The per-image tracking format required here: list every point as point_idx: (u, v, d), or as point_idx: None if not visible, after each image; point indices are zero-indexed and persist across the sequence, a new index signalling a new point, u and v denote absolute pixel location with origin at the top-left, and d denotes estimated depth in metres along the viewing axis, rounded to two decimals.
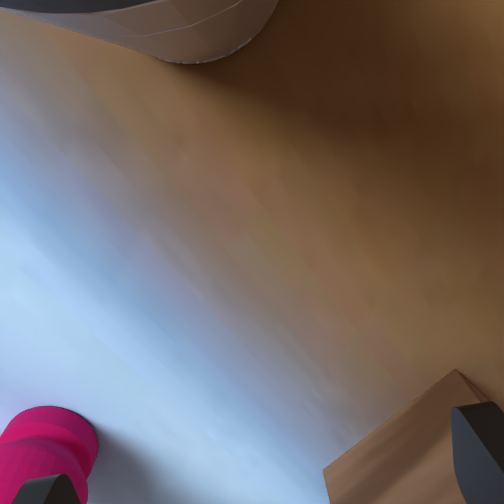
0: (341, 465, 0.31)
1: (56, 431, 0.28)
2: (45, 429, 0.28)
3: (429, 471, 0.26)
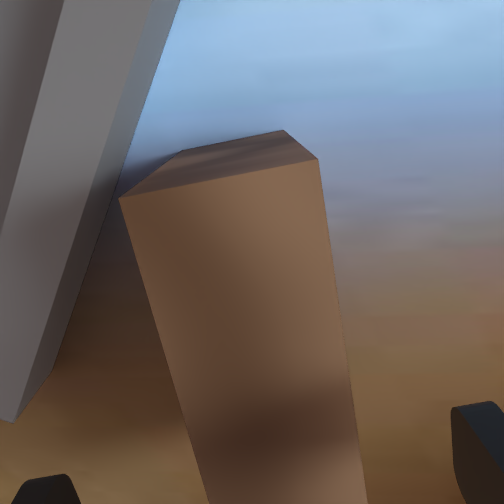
0: None
1: None
2: None
3: None
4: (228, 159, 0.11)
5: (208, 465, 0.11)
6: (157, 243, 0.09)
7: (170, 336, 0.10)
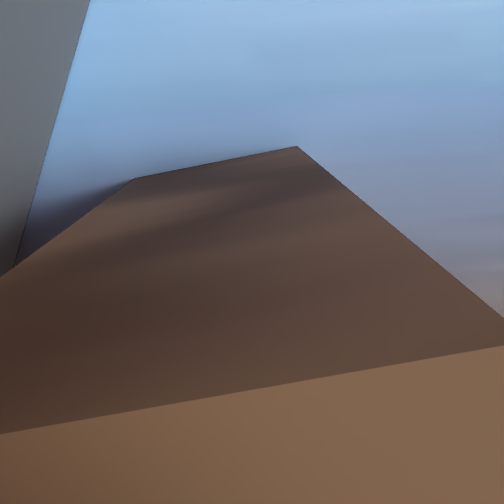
0: None
1: None
2: None
3: None
4: (193, 236, 0.05)
5: None
6: None
7: None
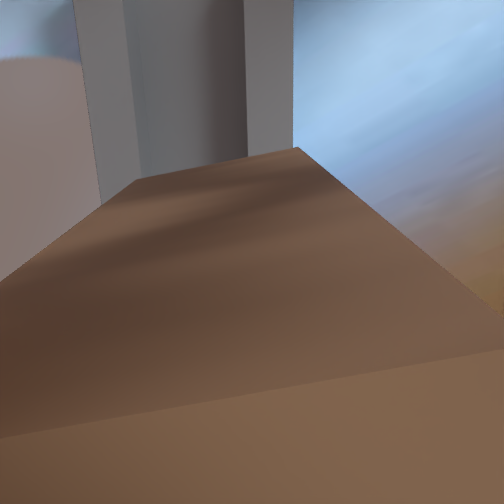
0: None
1: None
2: None
3: None
4: (195, 237, 0.05)
5: None
6: None
7: None
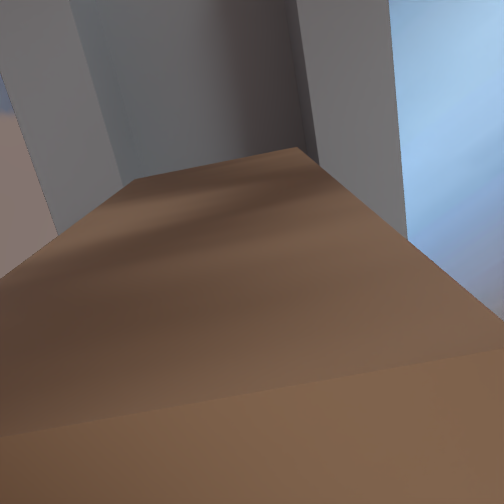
0: None
1: None
2: None
3: None
4: (193, 237, 0.05)
5: None
6: None
7: None
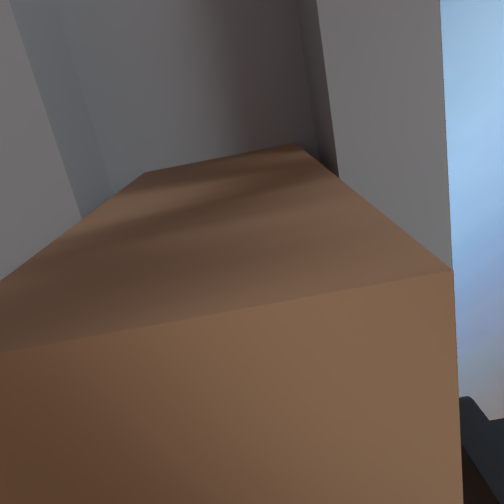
0: None
1: None
2: None
3: None
4: (204, 215, 0.06)
5: None
6: (2, 481, 0.03)
7: None
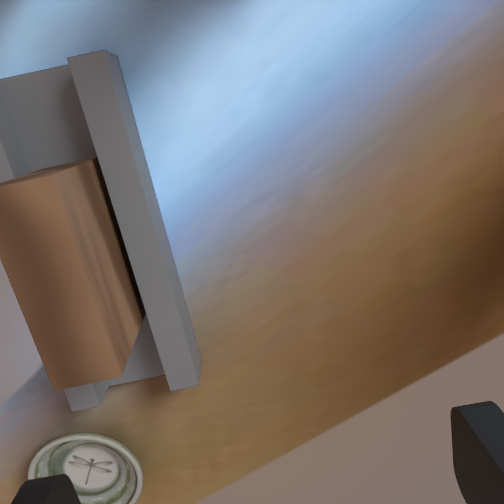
0: (104, 180, 0.30)
1: None
2: None
3: (113, 278, 0.28)
4: (37, 174, 0.25)
5: (27, 312, 0.24)
6: None
7: (2, 250, 0.23)
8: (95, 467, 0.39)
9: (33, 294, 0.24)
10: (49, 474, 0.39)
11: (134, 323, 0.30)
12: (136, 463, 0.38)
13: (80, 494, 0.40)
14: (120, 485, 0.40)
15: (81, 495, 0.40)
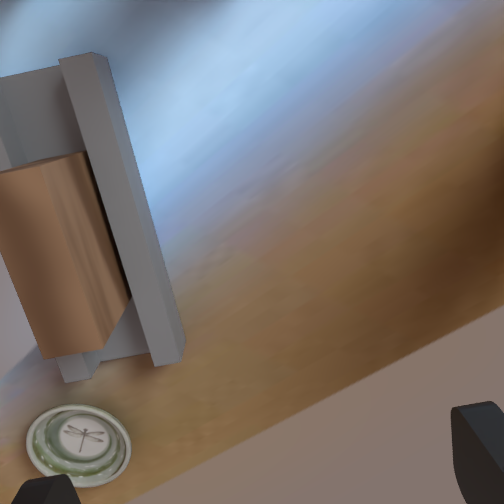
0: None
1: None
2: None
3: (99, 261, 0.31)
4: (30, 165, 0.28)
5: (19, 288, 0.27)
6: None
7: None
8: (88, 436, 0.42)
9: (24, 272, 0.27)
10: (46, 441, 0.42)
11: (120, 302, 0.33)
12: (125, 433, 0.41)
13: (74, 461, 0.43)
14: (111, 454, 0.43)
15: (75, 462, 0.43)
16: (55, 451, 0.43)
